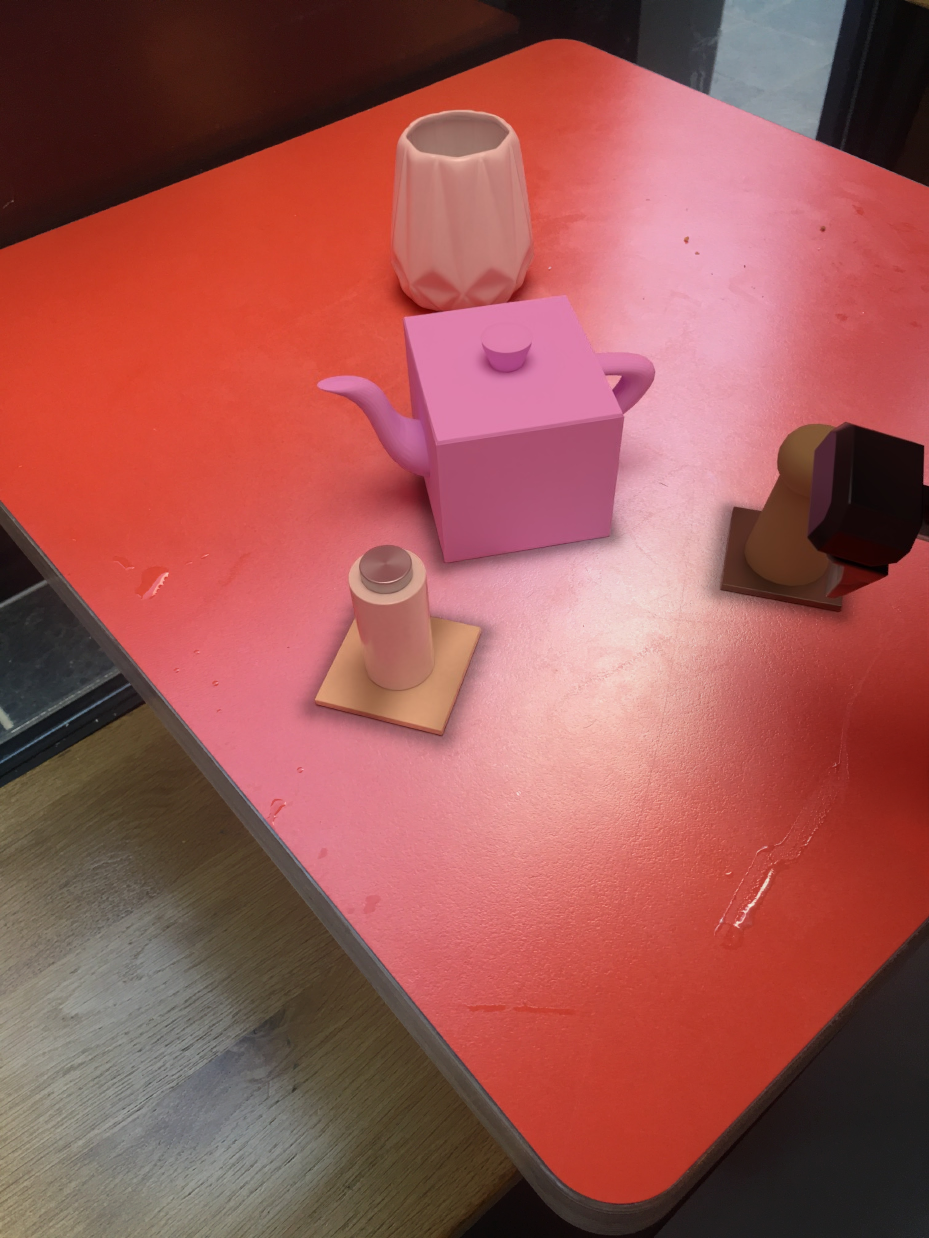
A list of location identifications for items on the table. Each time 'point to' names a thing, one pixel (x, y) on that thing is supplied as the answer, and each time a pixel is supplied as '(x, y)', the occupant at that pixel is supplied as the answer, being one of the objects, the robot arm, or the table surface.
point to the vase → (460, 211)
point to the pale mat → (411, 706)
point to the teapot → (508, 424)
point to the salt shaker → (393, 616)
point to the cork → (789, 516)
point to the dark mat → (749, 582)
